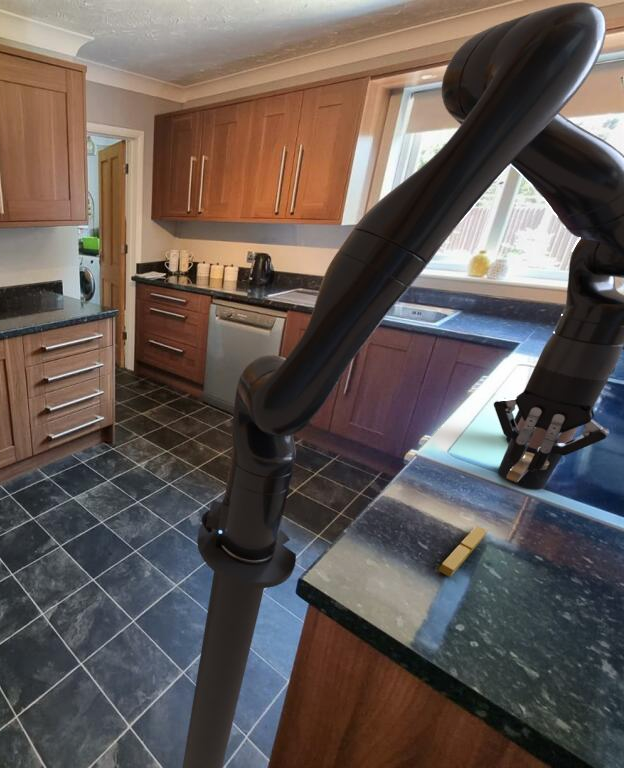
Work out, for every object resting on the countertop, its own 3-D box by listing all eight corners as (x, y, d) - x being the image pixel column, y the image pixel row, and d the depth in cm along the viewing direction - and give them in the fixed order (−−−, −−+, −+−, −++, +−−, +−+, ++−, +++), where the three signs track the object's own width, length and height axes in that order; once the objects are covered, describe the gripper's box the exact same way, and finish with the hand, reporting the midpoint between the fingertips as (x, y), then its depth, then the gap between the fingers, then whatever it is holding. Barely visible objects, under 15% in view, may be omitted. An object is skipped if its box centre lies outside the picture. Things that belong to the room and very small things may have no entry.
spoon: (529, 487, 64) (534, 479, 64) (493, 473, 68) (497, 464, 67) (549, 465, 71) (554, 457, 70) (516, 453, 74) (519, 445, 73)
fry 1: (450, 577, 63) (453, 570, 63) (438, 570, 64) (441, 563, 64) (467, 557, 67) (471, 550, 66) (456, 551, 68) (459, 544, 67)
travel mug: (537, 495, 81) (587, 402, 73) (489, 474, 87) (530, 386, 79) (551, 482, 85) (600, 393, 77) (504, 463, 91) (544, 378, 83)
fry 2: (468, 555, 67) (472, 548, 67) (457, 549, 68) (461, 542, 68) (484, 537, 71) (487, 530, 70) (473, 531, 72) (476, 525, 71)
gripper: (504, 358, 65) (464, 453, 72) (638, 389, 54) (576, 497, 61) (520, 349, 68) (480, 440, 76) (647, 377, 58) (588, 479, 65)
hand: (523, 465), depth 68 cm, fingers closed on spoon, 1 cm apart
